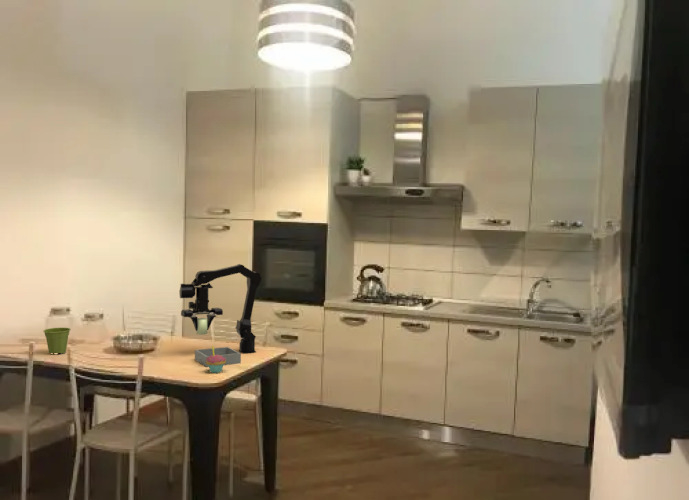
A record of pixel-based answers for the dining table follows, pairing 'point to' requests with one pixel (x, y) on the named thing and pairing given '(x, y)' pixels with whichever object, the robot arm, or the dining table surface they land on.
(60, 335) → the plant pot
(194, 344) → the dining table surface
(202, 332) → the green cylinder
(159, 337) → the dining table surface
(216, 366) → the cupcake
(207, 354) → the serving tray
